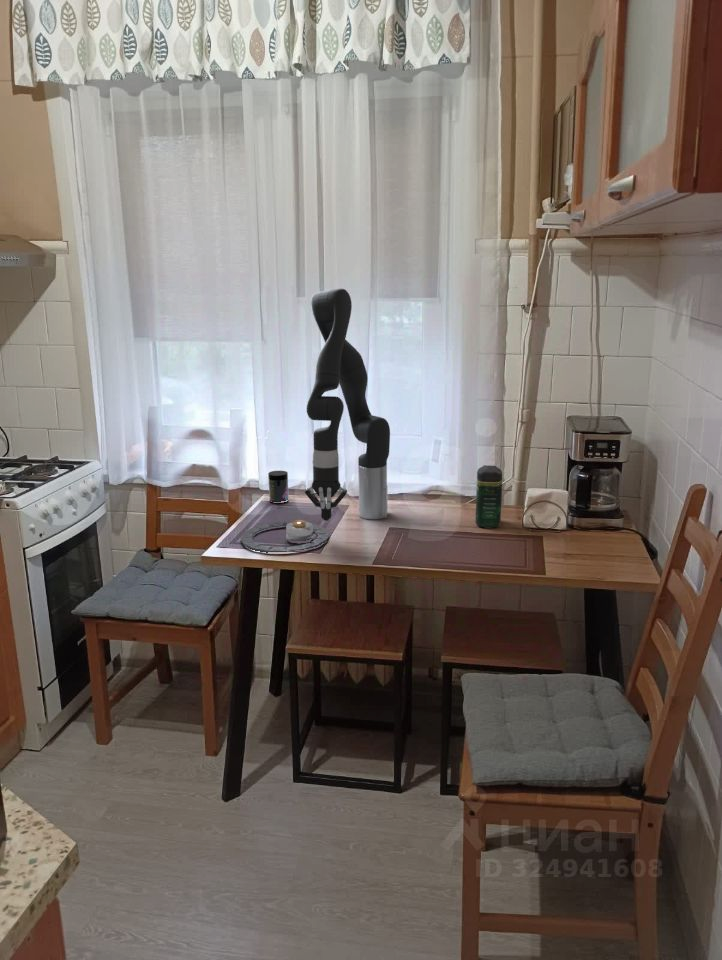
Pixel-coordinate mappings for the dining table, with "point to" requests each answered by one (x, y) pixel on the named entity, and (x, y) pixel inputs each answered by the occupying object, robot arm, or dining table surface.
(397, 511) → the dining table surface
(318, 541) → the centring ring
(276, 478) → the supplement container
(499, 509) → the coffee jar
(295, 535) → the cast cover
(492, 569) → the dining table surface
